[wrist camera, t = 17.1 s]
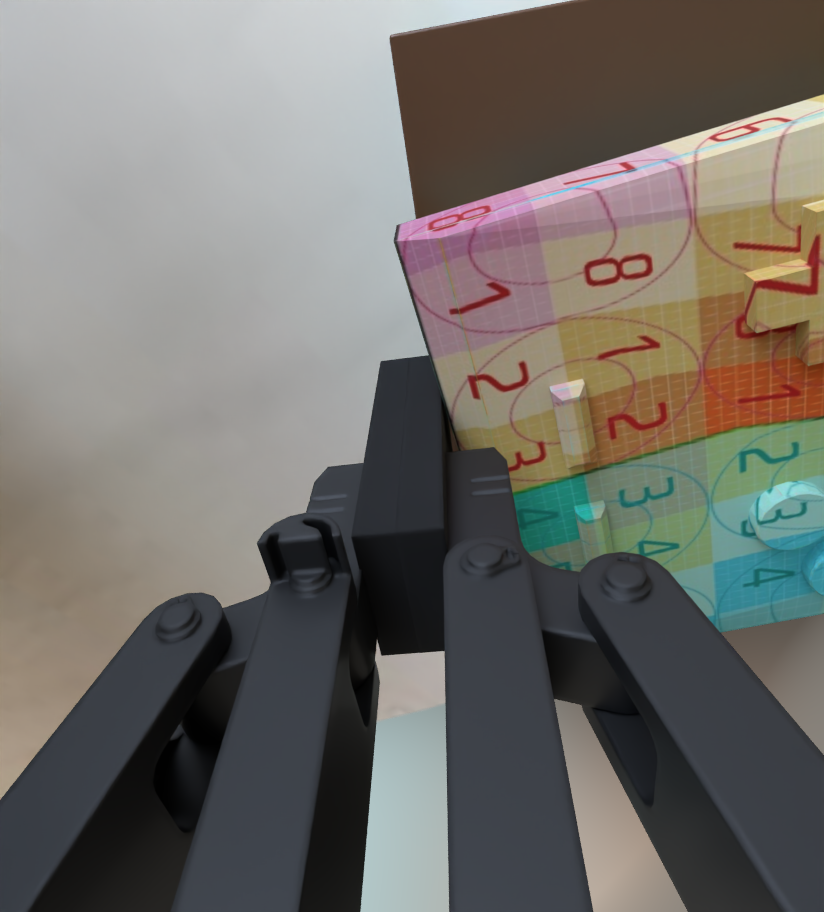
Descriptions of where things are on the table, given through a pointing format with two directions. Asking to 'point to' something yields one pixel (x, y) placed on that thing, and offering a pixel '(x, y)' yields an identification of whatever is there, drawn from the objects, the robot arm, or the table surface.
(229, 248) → the table surface
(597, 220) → the puzzle game
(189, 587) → the table surface
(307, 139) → the table surface
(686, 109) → the step shelf
